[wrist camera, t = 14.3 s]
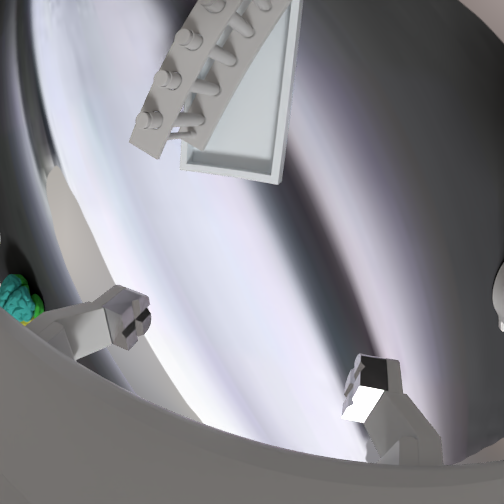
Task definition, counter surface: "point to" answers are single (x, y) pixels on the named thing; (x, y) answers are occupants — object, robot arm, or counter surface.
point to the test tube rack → (191, 63)
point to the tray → (253, 109)
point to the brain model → (20, 299)
